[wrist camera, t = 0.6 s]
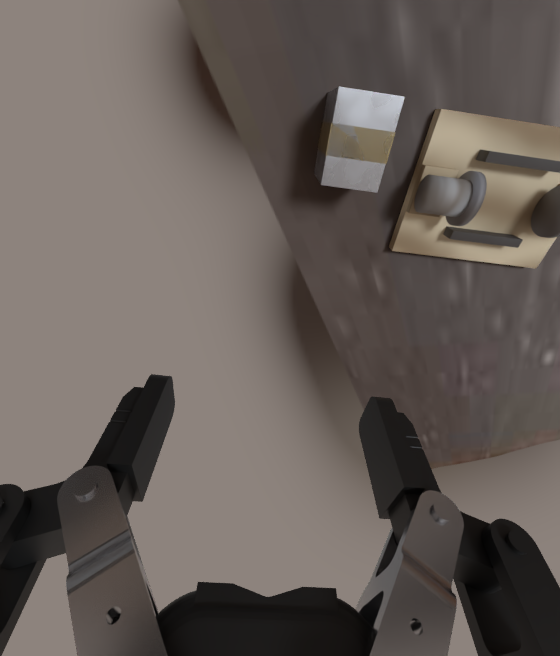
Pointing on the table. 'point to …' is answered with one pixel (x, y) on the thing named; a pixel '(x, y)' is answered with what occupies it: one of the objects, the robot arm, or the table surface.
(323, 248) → the table surface
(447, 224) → the beige flat board
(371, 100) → the block
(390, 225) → the table surface
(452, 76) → the table surface
